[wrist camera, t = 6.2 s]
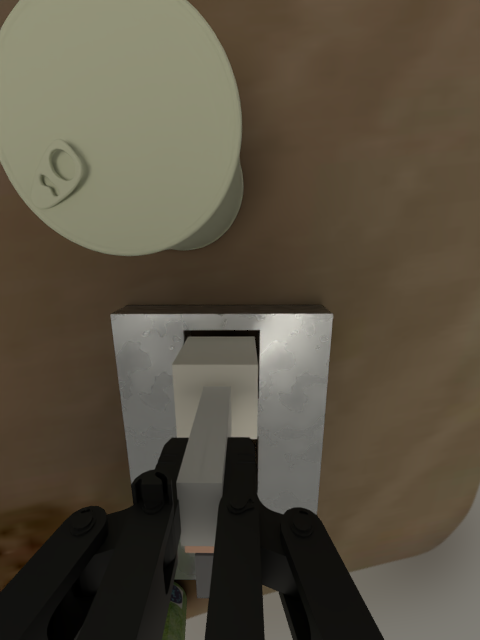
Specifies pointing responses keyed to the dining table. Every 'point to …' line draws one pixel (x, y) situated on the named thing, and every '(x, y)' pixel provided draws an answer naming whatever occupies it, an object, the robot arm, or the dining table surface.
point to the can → (121, 123)
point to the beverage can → (176, 615)
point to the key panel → (273, 391)
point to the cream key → (217, 380)
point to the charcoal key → (203, 573)
